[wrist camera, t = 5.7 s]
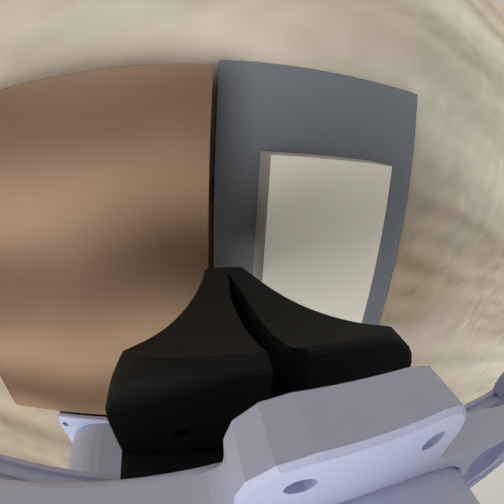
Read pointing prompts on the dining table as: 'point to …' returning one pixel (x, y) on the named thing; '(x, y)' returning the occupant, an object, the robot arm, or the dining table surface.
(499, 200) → the dining table surface
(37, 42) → the dining table surface
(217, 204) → the slate mat
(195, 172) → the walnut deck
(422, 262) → the dining table surface
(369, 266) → the cream rectangular block
